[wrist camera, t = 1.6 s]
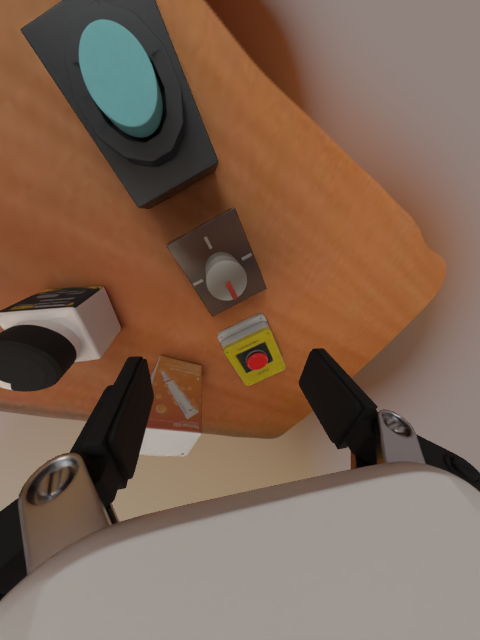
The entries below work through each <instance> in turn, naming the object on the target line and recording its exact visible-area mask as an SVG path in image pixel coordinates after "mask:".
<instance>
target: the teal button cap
mask: <svg viewBox="0 0 480 640" xmlns="http://www.w3.org/2000/svg"><path fill="white" fill-rule="evenodd" d="M79 63H80V69H81V73H82V76H83V79H84V82H85V85H86V87H87V89H88V91H89V93H90V95H91V97H92V98H93V100H94V101H95V103H96V104H97V105H98V107H99V108H100V109H101V110H102V111H103V112H104V113H105V115H106V116H107V117H108V118H109V119H110V120H111V121H112V122H113V123H114V124H115V125H116V126H117V127H118V128H119V129H120V130H122V131H123V132H125V133H126V134H128V135H131V136H133V137H139V138H143V137H148V136H150V135H151V134H153V133H154V132H155V131H156V130H157V128H158V127H159V125H160V122H161V119H162V114H163V102H162V96H161V91H160V88H159V85H158V82H157V79H156V75H155V72H154V69H153V66H152V64H151V61H150V59H149V57H148V55H147V53H146V52H145V50H144V48H143V47H142V45H141V44H140V43H139V41H138V40H137V39H136V38H135V36H134V35H133V34H132V33H130V32H129V31H128V30H127V29H126V28H124V27H123V26H122V25H120V24H118V23H116V22H113V21H111V20H106V19H100V20H96V21H94V22H92V23H90V24H89V25H88V26H87V27H86V28H85V30H84V31H83V33H82V35H81V39H80V43H79Z"/></svg>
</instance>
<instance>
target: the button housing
mask: <svg viewBox="0 0 480 640" xmlns="http://www.w3.org/2000/svg"><path fill="white" fill-rule="evenodd" d="M100 19H106V20H111V21H113V22H116V23H118V24H120V25H122V26H123V27H124V28H126V29H127V30H128V31H129V32H130V33H132V34H133V35H134V36H135V38H136V39H137V40H138V41H139V43H140V44H141V45H142V47H143V48H144V50H145V52H146V53H147V55H148V57H149V59H150V61H151V64H152V66H153V69H154V72H155V75H156V79H157V82H158V85H159V88H160V91H161V96H162V102H163V114H162V119H161V122H160V125H159V127H158V128H157V130H156V131H155V132H154V133H153V134H151V135H150V136H148V137H143V138H139V137H133V136H131V135H128V134H126V133H125V132H123V131H122V130H120V129H119V128H118V127H117V126H116V125H115V124H114V123H113V122H112V121H111V120H110V119H109V118H108V117H107V116H106V115H105V113H104V112H103V111H102V110H101V109H100V108H99V107H98V105H97V104H96V103H95V101H94V100H93V98H92V97H91V95H90V93H89V91H88V89H87V87H86V85H85V82H84V79H83V76H82V73H81V69H80V63H79V43H80V39H81V35H82V33H83V31H84V30H85V28H86V27H87V26H88V25H89V24H90V23H92V22H94V21H96V20H100ZM21 32H22V33H23V35H24V36H25V38H26V39H27V41H28V42H29V44H30V45H31V47H32V48H33V50H34V51H35V53H36V54H37V56H38V57H39V59H40V60H41V62H42V63H43V65H44V66H45V68H46V69H47V71H48V72H49V74H50V75H51V77H52V78H53V80H54V81H55V83H56V84H57V86H58V87H59V89H60V90H61V92H62V93H63V95H64V96H65V98H66V99H67V101H68V102H69V104H70V105H71V107H72V108H73V110H74V111H75V113H76V114H77V116H78V117H79V119H80V120H81V122H82V123H83V125H84V126H85V128H86V129H87V131H88V132H89V134H90V135H91V137H92V138H93V140H94V141H95V143H96V144H97V146H98V147H99V149H100V150H101V152H102V153H103V155H104V156H105V158H106V160H107V161H108V163H109V164H110V166H111V167H112V169H113V170H114V172H115V173H116V175H117V176H118V178H119V179H120V181H121V182H122V184H123V185H124V187H125V188H126V190H127V191H128V193H129V194H130V196H131V197H132V199H133V200H134V202H135V203H136V205H137V206H138V207H139V208H145V209H150V208H151V207H153V206H155V205H157V204H158V203H160V202H162V201H164V200H165V199H167V198H169V197H171V196H172V195H174V194H176V193H178V192H179V191H181V190H183V189H185V188H186V187H188V186H190V185H192V184H193V183H195V182H197V181H199V180H200V179H202V178H204V177H206V176H207V175H209V174H211V173H213V172H214V171H215V170H216V167H217V164H218V160H217V157H216V154H215V152H214V149H213V147H212V144H211V142H210V139H209V137H208V134H207V131H206V129H205V126H204V124H203V121H202V119H201V116H200V114H199V111H198V108H197V106H196V103H195V101H194V98H193V96H192V93H191V91H190V88H189V85H188V83H187V80H186V78H185V75H184V73H183V70H182V68H181V65H180V62H179V60H178V57H177V55H176V52H175V50H174V47H173V45H172V42H171V39H170V37H169V34H168V32H167V29H166V27H165V24H164V22H163V19H162V17H161V14H160V11H159V9H158V6H157V4H156V1H155V0H62V1H61V2H60V3H58V4H57V5H55V6H54V7H52V8H51V9H49V10H48V11H46V12H45V13H43V14H42V15H41V16H39V17H38V18H36V19H35V20H33V21H32V22H30V23H29V24H27V25H26V26H24V27H23V28H22V29H21Z"/></svg>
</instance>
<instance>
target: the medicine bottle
mask: <svg viewBox="0 0 480 640" xmlns="http://www.w3.org/2000/svg"><path fill="white" fill-rule="evenodd" d="M0 326H1V327H2V328H3V330H4V331H3V332H1V333H0V387H1V388H4V389H8V390H14V391H37V390H41V389H45V388H48V387H51V386H53V385H54V384H56V383H57V382H58V381H59V380H60V378H61V377H62V376H63V375H64V374H65V373H66V371H67V370H68V369H69V368H70V367H71V366H72V364H73V363H74V362H80V361H88V360H96V359H100V358H101V357H102V355H103V354H104V353H105V351H106V350H107V348H108V347H109V345H110V344H111V342H112V341H113V340H114V338H115V337H116V335H117V334H118V332H119V331H120V330H121V326H120V324H119V322H118V319H117V317H116V314H115V312H114V309H113V307H112V305H111V302H110V300H109V297H108V295H107V293H106V290H105V288H104V287H103V286H94V287H78V288H62V289H46V290H43V291H41V292H39V293H36V294H34V295H32V296H30V297H28V298H26V299H24V300H22V301H20V302H18V303H16V304H13V305H11V306H9V307H7V308H5V309H3V310H1V311H0Z"/></svg>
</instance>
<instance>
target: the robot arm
mask: <svg viewBox="0 0 480 640" xmlns="http://www.w3.org/2000/svg"><path fill="white" fill-rule="evenodd" d="M299 386H300V388H301V390H302V392H303V393H304V395H305V397H306V399H307V400H308V402H309V404H310V406H311V407H312V409H313V411H314V412H315V414H316V416H317V418H318V419H319V421H320V423H321V424H322V426H323V428H324V430H325V432H326V433H327V435H328V437H329V438H330V440H331V441H332V442H333V443H335V445H336V447H337V449H342V448H347V447H349V449H350V450H351V469H350V470H346V471H341V472H336V473H331V474H326V475H322V476H317V477H313V478H307V479H303V480H298V481H293V482H289V483H284V484H279V485H275V486H270V487H265V488H261V489H256V490H251V491H247V492H242V493H238V494H233V495H228V496H224V497H220V498H215V499H210V500H206V501H201V502H197V503H192V504H187V505H183V506H179V507H175V508H171V509H167V510H162V511H158V512H154V513H150V514H146V515H142V516H139V517H135V518H132V519H128V520H125V521H121V522H119V520H118V518H117V515H116V513H115V510H114V508H113V506H112V504H111V503H112V502H113V501H114V499H115V496H116V493H117V490H118V489H124V488H126V485H127V481H128V479H131V478H132V477H133V475H134V472H135V468H136V464H137V461H138V457H139V453H140V449H141V445H142V442H143V438H144V434H145V430H146V426H147V423H148V419H149V415H150V411H151V408H152V404H153V400H154V393H153V388H152V383H151V378H150V374H149V369H148V364H147V360H146V359H143V358H142V357H129V358H128V359H127V360H126V362H125V364H124V366H123V368H122V370H121V372H120V374H119V376H118V378H117V380H116V381H115V383H114V385H110V386H108V387H107V388H106V389H105V390H104V392H103V394H102V396H101V397H100V399H99V401H98V403H97V405H96V406H95V408H94V410H93V412H92V413H91V415H90V417H89V419H88V421H87V422H86V424H85V426H84V428H83V430H82V431H81V433H80V435H79V437H78V439H77V440H76V442H75V444H74V446H73V447H72V449H71V451H70V453H65V454H62V455H59V456H57V457H55V458H53V459H51V460H49V461H47V462H46V463H45V464H43V465H42V466H41V467H39V468H38V469H37V470H36V471H35V472H34V473H33V474H32V475H31V476H30V477H29V479H28V480H27V482H26V483H25V484H24V486H23V488H22V490H21V492H20V494H19V498H18V499H16V500H15V501H14V502H12V503H11V504H10V505H8V506H7V507H6V508H4V509H3V510H2V511H0V640H480V473H479V472H478V471H477V470H476V469H475V468H474V467H473V466H472V465H471V464H470V463H468V462H467V461H466V460H464V459H463V458H461V457H459V456H458V455H456V454H454V453H452V452H450V451H448V450H446V449H444V448H442V447H440V446H438V445H436V444H434V443H432V442H430V441H428V440H426V439H424V438H422V437H420V436H418V435H416V433H415V431H414V429H413V427H412V426H411V425H410V423H409V422H407V421H406V420H405V419H404V418H403V417H401V416H400V415H399V414H397V413H395V412H393V411H389V410H380V411H379V412H377V411H376V408H377V406H376V404H374V402H373V401H372V400H371V399H370V398H369V397H368V396H367V395H366V394H365V393H364V392H363V390H362V389H361V388H360V387H359V386H358V385H357V384H356V383H355V382H354V381H353V380H352V379H351V377H350V376H349V375H348V374H347V373H346V372H345V371H344V370H343V369H342V368H341V367H340V366H339V364H338V363H337V362H336V361H335V360H334V359H333V358H332V357H331V356H330V355H329V354H328V353H327V352H326V350H324V349H323V348H320V349H313V350H312V351H311V352H310V353H309V356H308V359H307V361H306V364H305V367H304V369H303V372H302V375H301V377H300V380H299Z"/></svg>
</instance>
